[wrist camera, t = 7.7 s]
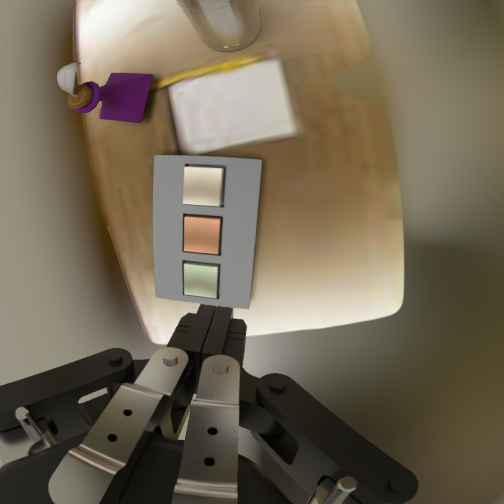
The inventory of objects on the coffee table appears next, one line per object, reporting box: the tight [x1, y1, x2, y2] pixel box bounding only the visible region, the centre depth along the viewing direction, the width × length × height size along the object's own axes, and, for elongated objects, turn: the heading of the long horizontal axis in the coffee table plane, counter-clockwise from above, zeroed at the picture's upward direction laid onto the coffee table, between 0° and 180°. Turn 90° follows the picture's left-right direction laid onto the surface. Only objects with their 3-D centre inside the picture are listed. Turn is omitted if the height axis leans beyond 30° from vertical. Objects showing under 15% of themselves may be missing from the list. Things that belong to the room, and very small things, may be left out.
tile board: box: [153, 155, 262, 309], centre depth 43 cm, size 22×15×3 cm
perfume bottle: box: [57, 62, 153, 123], centre depth 30 cm, size 8×8×18 cm
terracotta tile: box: [184, 214, 222, 254], centre depth 42 cm, size 5×5×2 cm
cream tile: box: [183, 166, 224, 206], centre depth 38 cm, size 5×5×2 cm
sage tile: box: [184, 261, 220, 298], centre depth 44 cm, size 5×5×2 cm
